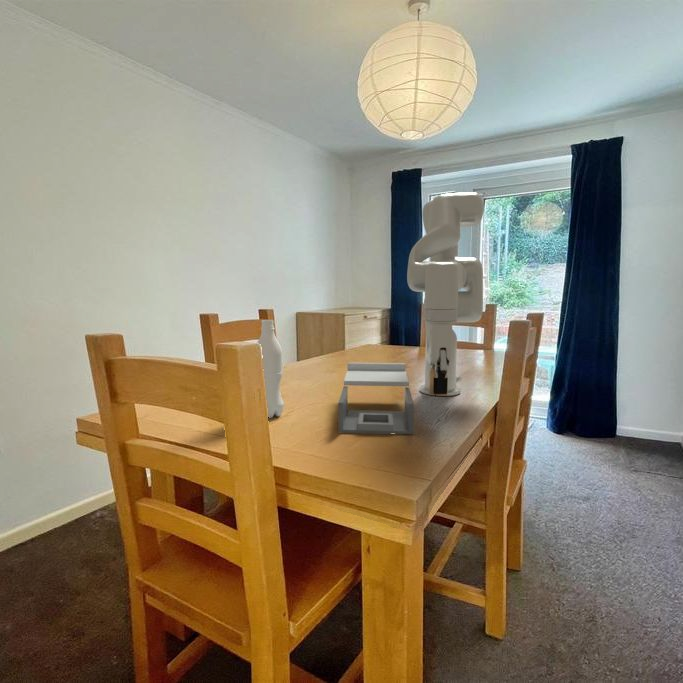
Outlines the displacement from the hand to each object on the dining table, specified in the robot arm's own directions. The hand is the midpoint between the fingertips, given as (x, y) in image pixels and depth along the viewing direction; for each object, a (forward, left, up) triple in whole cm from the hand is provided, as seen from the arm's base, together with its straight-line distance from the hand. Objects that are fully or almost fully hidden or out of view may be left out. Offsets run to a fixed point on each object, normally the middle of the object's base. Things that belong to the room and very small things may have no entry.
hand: (438, 389), depth 99 cm
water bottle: (+26, -34, -9) cm, 44 cm away
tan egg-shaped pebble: (0, 0, -1) cm, 1 cm away
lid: (0, -21, -1) cm, 21 cm away
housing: (+11, -11, -8) cm, 17 cm away
